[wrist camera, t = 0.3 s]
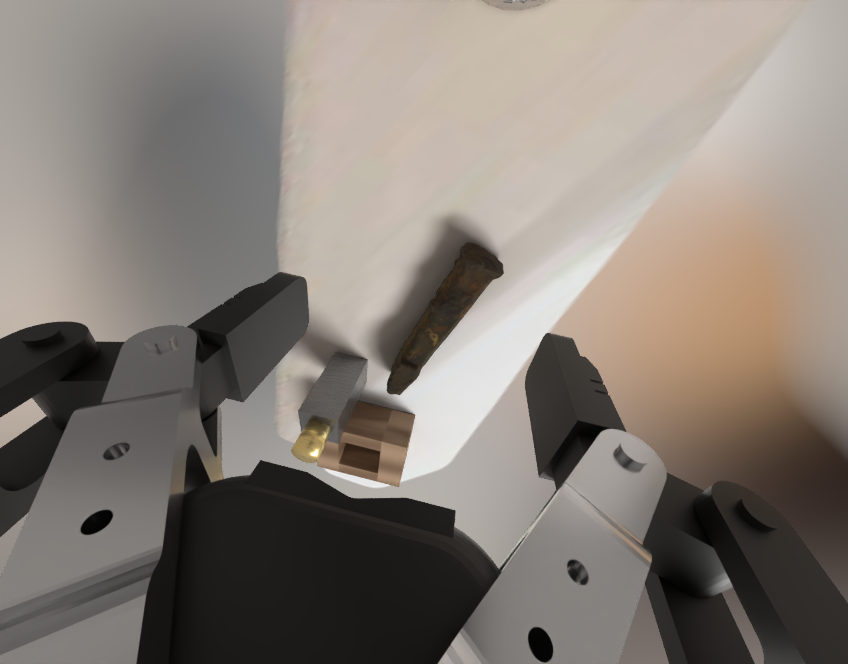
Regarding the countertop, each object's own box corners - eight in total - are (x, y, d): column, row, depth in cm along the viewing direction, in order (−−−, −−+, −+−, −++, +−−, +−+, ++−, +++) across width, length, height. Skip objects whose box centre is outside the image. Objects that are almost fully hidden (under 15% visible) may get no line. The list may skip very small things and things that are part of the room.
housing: (329, 394, 42) (312, 424, 38) (415, 415, 41) (407, 447, 37) (331, 436, 48) (317, 466, 44) (406, 455, 47) (398, 487, 43)
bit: (335, 352, 37) (281, 437, 27) (367, 359, 37) (324, 448, 27) (336, 375, 39) (286, 461, 30) (366, 382, 39) (326, 471, 30)
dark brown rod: (467, 232, 26) (464, 253, 22) (505, 258, 27) (507, 282, 23) (375, 361, 37) (363, 390, 33) (404, 377, 38) (394, 407, 34)
